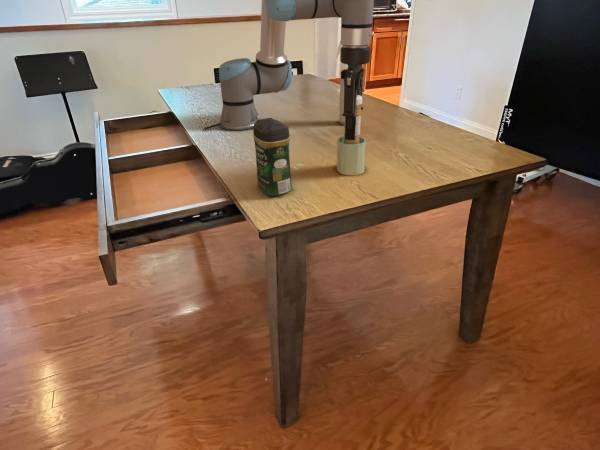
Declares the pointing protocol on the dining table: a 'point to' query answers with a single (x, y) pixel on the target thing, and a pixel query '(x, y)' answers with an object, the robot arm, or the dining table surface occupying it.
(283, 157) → the coffee jar
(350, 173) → the cup
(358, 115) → the sprinkles bottle
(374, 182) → the dining table surface
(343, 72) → the travel mug
